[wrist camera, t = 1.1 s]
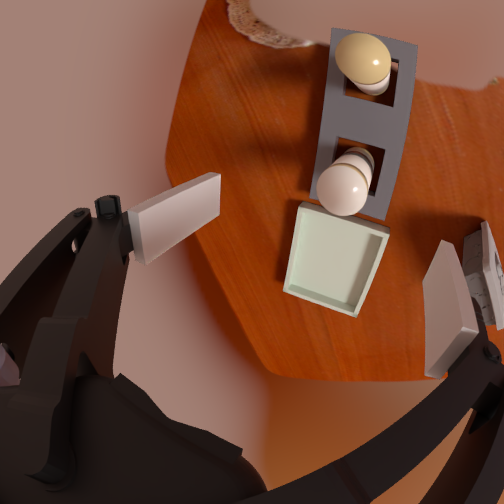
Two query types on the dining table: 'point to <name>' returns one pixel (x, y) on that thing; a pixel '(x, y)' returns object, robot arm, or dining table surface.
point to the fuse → (364, 62)
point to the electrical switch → (484, 275)
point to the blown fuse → (346, 182)
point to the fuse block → (367, 120)
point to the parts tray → (333, 258)
